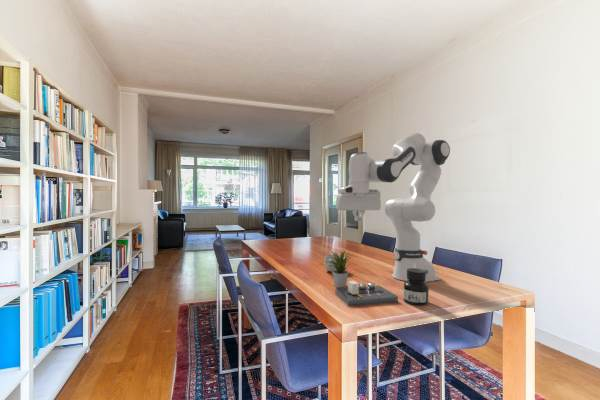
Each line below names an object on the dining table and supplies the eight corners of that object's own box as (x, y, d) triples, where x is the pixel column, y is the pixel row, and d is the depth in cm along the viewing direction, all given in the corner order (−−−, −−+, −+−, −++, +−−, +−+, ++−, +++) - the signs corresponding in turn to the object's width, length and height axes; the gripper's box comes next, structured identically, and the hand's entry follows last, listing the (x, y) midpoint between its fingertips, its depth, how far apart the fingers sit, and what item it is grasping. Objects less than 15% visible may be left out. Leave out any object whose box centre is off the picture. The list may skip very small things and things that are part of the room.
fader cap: (353, 290, 119) (353, 280, 119) (358, 294, 115) (358, 283, 115) (348, 291, 119) (348, 281, 119) (352, 294, 115) (352, 284, 115)
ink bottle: (398, 301, 114) (399, 270, 114) (407, 295, 121) (407, 266, 121) (425, 308, 108) (425, 275, 108) (432, 301, 115) (433, 270, 115)
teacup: (330, 267, 166) (331, 253, 166) (348, 270, 160) (348, 255, 160) (317, 272, 155) (317, 257, 155) (335, 276, 149) (336, 260, 148)
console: (379, 290, 127) (379, 281, 127) (397, 302, 114) (398, 292, 114) (335, 293, 123) (335, 284, 123) (348, 306, 109) (348, 295, 109)
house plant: (327, 279, 144) (328, 245, 143) (356, 281, 140) (357, 246, 139) (320, 287, 130) (320, 250, 130) (352, 291, 126) (353, 252, 126)
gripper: (376, 189, 137) (376, 219, 137) (334, 189, 132) (334, 220, 133) (383, 189, 131) (383, 221, 131) (339, 188, 126) (339, 221, 127)
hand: (358, 220), depth 132 cm, fingers closed
